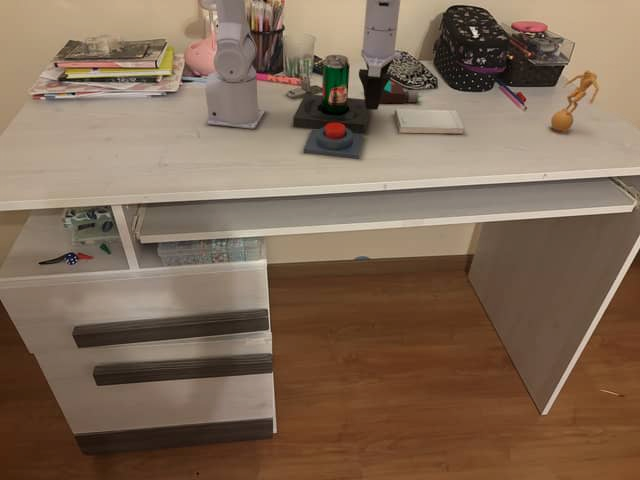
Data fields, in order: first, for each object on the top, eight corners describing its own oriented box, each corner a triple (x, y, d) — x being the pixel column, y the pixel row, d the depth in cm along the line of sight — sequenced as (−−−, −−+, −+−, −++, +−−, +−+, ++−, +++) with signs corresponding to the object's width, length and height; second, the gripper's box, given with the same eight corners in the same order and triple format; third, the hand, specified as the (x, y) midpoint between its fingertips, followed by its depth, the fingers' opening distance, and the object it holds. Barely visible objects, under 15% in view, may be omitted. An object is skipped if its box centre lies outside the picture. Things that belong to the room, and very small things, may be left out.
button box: (303, 153, 92) (303, 140, 90) (311, 133, 98) (311, 121, 97) (358, 159, 91) (360, 146, 89) (363, 138, 97) (364, 126, 95)
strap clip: (293, 100, 110) (293, 80, 108) (285, 95, 112) (284, 76, 110) (323, 91, 115) (324, 72, 112) (315, 86, 117) (316, 68, 114)
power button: (323, 139, 92) (323, 130, 91) (326, 130, 95) (327, 121, 94) (343, 141, 92) (343, 132, 90) (345, 132, 94) (346, 123, 93)
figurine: (538, 122, 105) (556, 63, 98) (563, 119, 106) (583, 61, 99) (563, 140, 99) (584, 79, 91) (589, 137, 100) (613, 77, 93)
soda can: (328, 124, 101) (331, 64, 94) (317, 114, 105) (318, 55, 97) (350, 120, 103) (355, 60, 96) (338, 110, 107) (341, 52, 99)
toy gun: (422, 104, 110) (426, 83, 107) (367, 105, 109) (369, 82, 106) (413, 87, 118) (416, 66, 115) (361, 87, 117) (363, 66, 114)
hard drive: (400, 126, 98) (464, 126, 99) (395, 108, 105) (455, 109, 105) (399, 133, 99) (463, 134, 100) (394, 115, 106) (453, 116, 106)
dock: (293, 127, 100) (293, 117, 99) (305, 102, 110) (305, 93, 108) (364, 134, 98) (365, 124, 97) (370, 108, 108) (371, 99, 107)
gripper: (402, 40, 83) (392, 118, 92) (405, 17, 95) (396, 88, 103) (359, 37, 84) (353, 114, 93) (367, 14, 95) (361, 85, 104)
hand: (373, 100), depth 98 cm, fingers open, 7 cm apart
